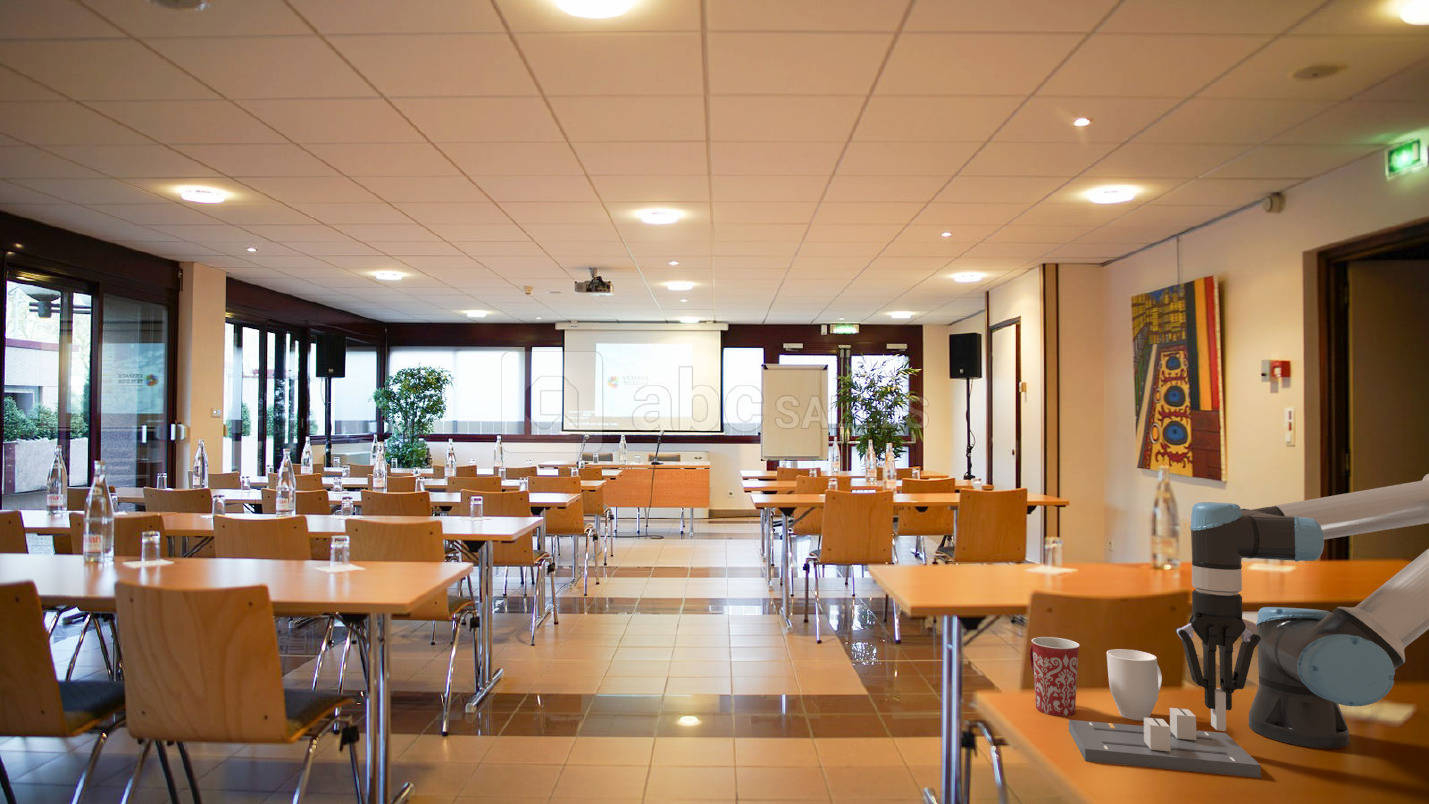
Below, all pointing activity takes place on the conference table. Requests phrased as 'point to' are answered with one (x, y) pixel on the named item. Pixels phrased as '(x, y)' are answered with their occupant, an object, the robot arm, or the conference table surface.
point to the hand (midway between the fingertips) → (1218, 727)
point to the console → (1188, 755)
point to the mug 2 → (1134, 682)
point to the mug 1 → (1055, 674)
